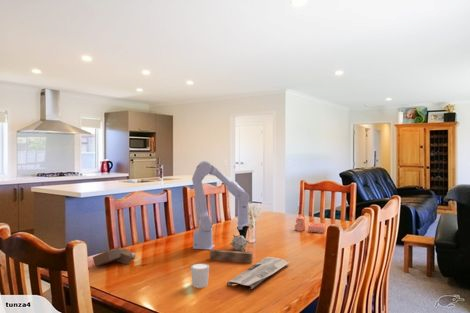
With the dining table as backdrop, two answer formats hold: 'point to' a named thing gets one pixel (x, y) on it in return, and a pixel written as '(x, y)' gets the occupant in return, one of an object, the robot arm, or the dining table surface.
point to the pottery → (311, 227)
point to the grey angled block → (114, 256)
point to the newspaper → (259, 272)
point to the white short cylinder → (200, 275)
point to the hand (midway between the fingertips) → (243, 240)
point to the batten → (231, 256)
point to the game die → (239, 242)
